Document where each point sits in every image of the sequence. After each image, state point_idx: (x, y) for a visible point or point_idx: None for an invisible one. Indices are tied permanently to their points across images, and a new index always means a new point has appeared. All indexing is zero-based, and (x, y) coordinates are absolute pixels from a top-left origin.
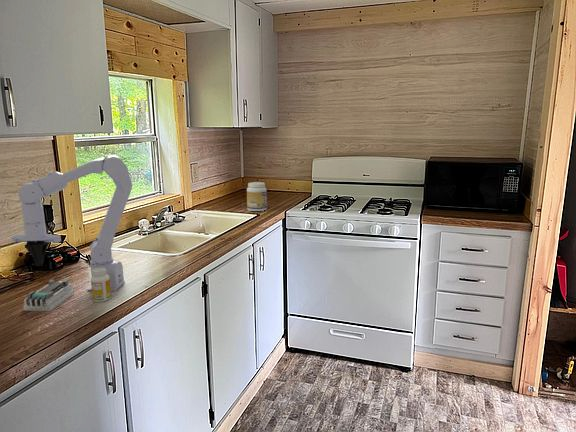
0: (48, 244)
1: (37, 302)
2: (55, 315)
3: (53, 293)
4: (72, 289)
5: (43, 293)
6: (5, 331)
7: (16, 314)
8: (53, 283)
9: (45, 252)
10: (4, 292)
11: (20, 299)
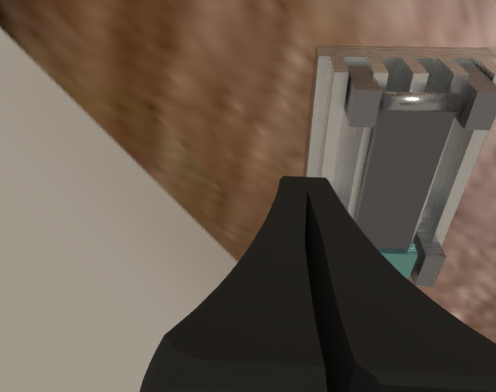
0: (483, 347)
1: None
2: (453, 274)
3: (442, 250)
4: (494, 58)
5: (391, 262)
6: None
7: None
8: (389, 128)
9: (379, 252)
10: (10, 37)
11: (194, 134)
